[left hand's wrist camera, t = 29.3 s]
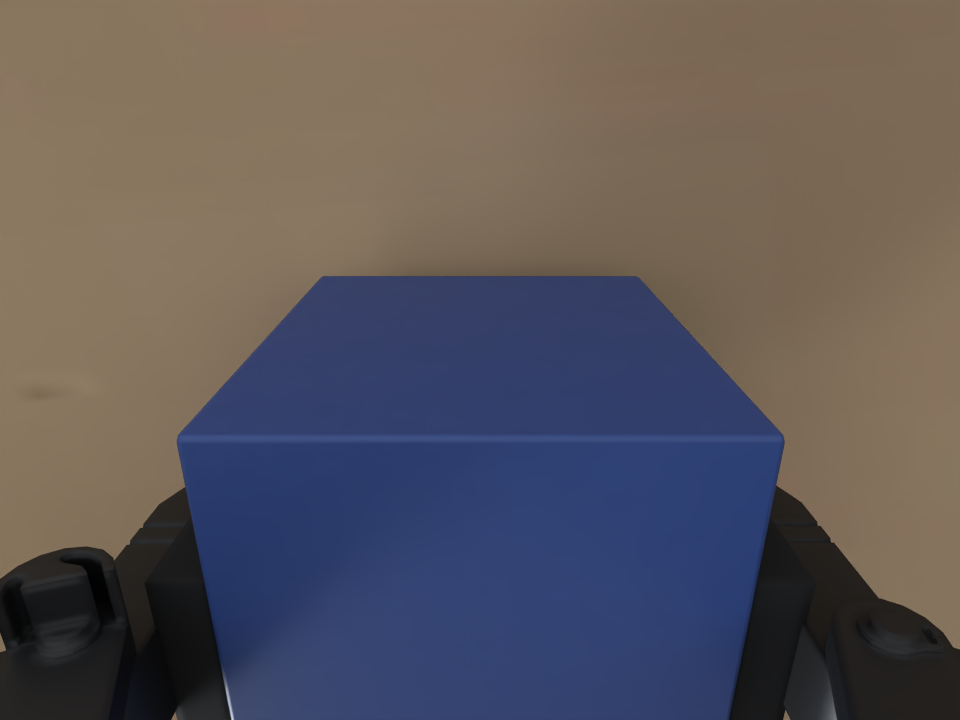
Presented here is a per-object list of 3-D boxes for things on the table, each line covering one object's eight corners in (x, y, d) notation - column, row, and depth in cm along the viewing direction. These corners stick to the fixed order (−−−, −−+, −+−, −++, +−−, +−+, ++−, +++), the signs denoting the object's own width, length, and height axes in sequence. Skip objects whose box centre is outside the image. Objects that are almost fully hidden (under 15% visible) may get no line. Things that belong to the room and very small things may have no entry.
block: (345, 540, 16) (253, 843, 9) (320, 275, 14) (171, 437, 7) (613, 541, 16) (707, 842, 10) (639, 275, 14) (789, 436, 7)
